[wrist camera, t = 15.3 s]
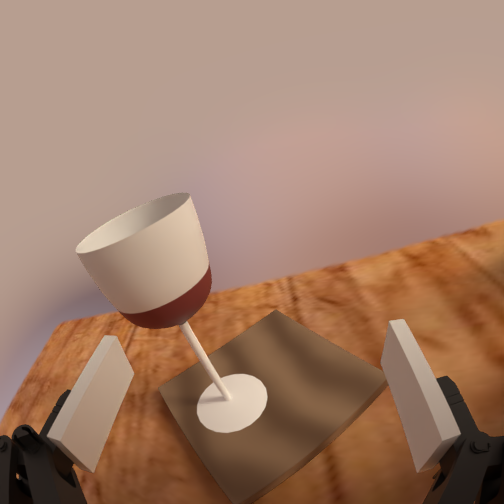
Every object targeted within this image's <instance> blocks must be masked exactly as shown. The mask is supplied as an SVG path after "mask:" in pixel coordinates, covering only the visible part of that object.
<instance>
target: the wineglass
mask: <svg viewBox="0 0 504 504" xmlns="http://www.w3.org/2000/svg"><path fill="white" fill-rule="evenodd" d="M76 252H77V254H78V256H79V258H80V260H81V262H82V263H83V265H84V267H85V268H86V270H87V271H88V273H89V274H90V276H91V277H92V279H93V280H94V282H95V283H96V285H97V286H98V288H99V289H100V290H101V292H102V293H103V294H104V295H105V297H106V298H107V299H108V300H109V301H110V302H111V303H112V305H113V306H114V307H115V308H116V309H117V310H118V311H119V312H120V313H121V314H122V315H123V316H124V317H125V318H126V319H128V320H129V321H130V322H132V323H133V324H135V325H137V326H140V327H143V328H150V329H161V328H169V327H173V326H176V325H179V327H180V329H181V330H182V332H183V334H184V336H185V337H186V339H187V341H188V342H189V344H190V346H191V347H192V349H193V350H194V352H195V354H196V355H197V357H198V359H199V360H200V362H201V363H202V365H203V367H204V368H205V370H206V371H207V373H208V374H209V376H210V378H211V379H212V381H213V383H212V384H211V385H210V386H209V387H207V388H206V389H205V391H204V392H203V393H202V395H201V396H200V399H199V401H198V404H197V415H198V417H199V420H200V422H201V423H202V424H203V425H204V426H205V427H206V428H208V429H210V430H213V431H215V432H222V433H230V432H234V431H239V430H241V429H243V428H245V427H247V426H249V425H251V424H252V423H253V422H254V421H255V420H256V419H258V418H259V417H260V415H261V414H262V412H263V410H264V409H265V407H266V402H267V397H268V396H267V391H266V387H265V386H264V385H263V383H262V382H261V381H260V380H259V379H257V378H255V377H254V376H251V375H247V374H233V375H229V376H225V377H223V378H220V377H219V375H218V373H217V372H216V370H215V369H214V367H213V365H212V364H211V362H210V360H209V359H208V357H207V355H206V353H205V352H204V350H203V348H202V347H201V345H200V343H199V341H198V340H197V338H196V336H195V334H194V333H193V331H192V329H191V327H190V326H189V324H188V322H187V320H188V319H189V318H191V317H192V316H193V315H194V314H195V313H196V312H197V311H198V310H199V309H200V308H201V307H202V306H203V304H204V303H205V301H206V299H207V297H208V295H209V293H210V289H211V284H212V279H211V270H210V265H209V260H208V255H207V251H206V245H205V241H204V237H203V234H202V230H201V227H200V223H199V220H198V217H197V214H196V210H195V208H194V205H193V202H192V199H191V197H190V194H188V193H177V194H172V195H168V196H165V197H161V198H159V199H156V200H153V201H150V202H148V203H145V204H143V205H141V206H138V207H136V208H134V209H131V210H129V211H127V212H125V213H123V214H122V215H120V216H118V217H116V218H114V219H112V220H111V221H109V222H107V223H106V224H104V225H102V226H101V227H99V228H98V229H96V230H95V231H94V232H92V233H91V234H89V235H88V236H87V237H86V238H85V239H84V240H83V241H81V242H80V244H79V245H78V246H77V248H76Z"/></svg>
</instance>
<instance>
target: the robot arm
mask: <svg viewBox="0 0 504 504" xmlns="http://www.w3.org/2000/svg"><path fill="white" fill-rule="evenodd" d="M380 363H381V366H382V368H383V371H384V374H385V376H386V379H387V382H388V384H389V387H390V390H391V393H392V396H393V399H394V401H395V404H396V407H397V410H398V413H399V416H400V419H401V422H402V425H403V428H404V432H405V435H406V438H407V441H408V444H409V448H410V451H411V454H412V458H413V461H414V465H415V468H416V472H417V473H420V472H423V471H426V470H429V469H432V468H434V467H435V466H436V465H437V464H438V462H439V463H440V466H441V469H440V470H439V471H438V472H437V473H436V474H435V475H434V477H433V479H435V478H436V479H435V481H434V483H433V485H432V487H431V489H430V491H429V493H428V495H427V496H426V498H425V500H424V502H423V504H504V436H499V437H489V435H488V434H486V433H484V432H480V431H479V430H478V428H477V426H476V424H475V422H474V420H473V418H472V416H471V414H470V412H469V409H468V407H467V405H466V403H465V402H464V399H463V397H462V395H461V394H460V392H459V390H458V388H457V386H456V384H455V383H454V382H453V381H452V380H451V379H450V378H449V377H448V376H444V377H440V378H437V379H436V378H435V376H434V374H433V372H432V370H431V368H430V366H429V364H428V362H427V361H426V359H425V357H424V355H423V353H422V351H421V349H420V347H419V345H418V344H417V342H416V340H415V338H414V336H413V335H412V333H411V331H410V329H409V327H408V326H407V324H406V322H405V320H404V319H399V320H392V321H389V324H388V329H387V334H386V339H385V344H384V349H383V353H382V358H381V362H380ZM133 376H134V372H133V370H132V368H131V366H130V364H129V362H128V360H127V357H126V355H125V353H124V351H123V349H122V347H121V345H120V342H119V340H118V338H117V336H104V337H103V339H102V340H101V342H100V344H99V345H98V347H97V348H96V350H95V352H94V353H93V355H92V357H91V358H90V360H89V362H88V363H87V365H86V367H85V368H84V370H83V372H82V373H81V375H80V377H79V378H78V380H77V382H76V384H75V385H74V387H73V389H72V390H67V391H65V392H64V393H63V394H62V395H61V396H60V398H59V399H58V401H57V403H56V406H54V408H53V410H52V412H51V414H50V415H49V417H48V419H47V421H46V423H45V424H44V426H43V428H42V430H41V432H40V434H39V435H38V434H37V433H36V432H35V430H34V429H33V428H32V427H31V426H29V425H26V424H25V425H21V426H19V427H17V428H16V429H15V430H14V432H13V434H12V440H11V439H10V438H9V437H8V436H6V435H2V436H0V504H87V502H86V499H85V497H84V494H83V492H82V489H81V487H80V484H79V481H78V478H77V476H76V473H75V471H74V469H73V468H72V466H73V464H75V465H77V466H78V467H79V468H80V469H82V470H85V471H88V472H91V473H94V471H95V468H96V466H97V463H98V461H99V458H100V455H101V453H102V450H103V448H104V445H105V442H106V440H107V437H108V435H109V432H110V430H111V428H112V425H113V423H114V420H115V418H116V415H117V413H118V411H119V408H120V406H121V403H122V401H123V399H124V396H125V394H126V392H127V389H128V387H129V385H130V383H131V380H132V378H133ZM16 473H17V474H18V475H19V479H17V478H16ZM474 501H475V503H474Z"/></svg>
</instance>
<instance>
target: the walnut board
mask: <svg viewBox="0 0 504 504" xmlns="http://www.w3.org/2000/svg"><path fill="white" fill-rule="evenodd" d="M207 357H208V359H209V360H210V362H211V364H212V365H213V367H214V369H215V370H216V372H217V373H218V375H219V377H220V378H223V377H225V376H229V375H233V374H247V375H251V376H254V377H255V378H257V379H259V380H260V381H261V382H262V383H263V385H264V386H265V387H266V391H267V396H268V397H267V402H266V407H265V409H264V410H263V412H262V414H261V415H260V417H259V418H258V419H256V420H255V421H254V422H253V423H252V424H251V425H249V426H247V427H245V428H243V429H241V430H239V431H234V432H230V433H222V432H215V431H213V430H210V429H208V428H206V427H205V426H204V425H203V424H202V423H201V422H200V420H199V417H198V415H197V404H198V401H199V399H200V396H201V395H202V393H203V392H204V391H205V389H206V388H207V387H209V386H210V385H211V384H212V383H213V381H212V379H211V378H210V376H209V374H208V373H207V371H206V370H205V368H204V367H203V365H202V363H201V362H198V363H196V364H195V365H193V366H192V367H190V368H189V369H187V370H186V371H184V372H182V373H181V374H179V375H178V376H176V377H174V378H173V379H171V380H170V381H168V382H166V383H165V384H163V385H162V386H160V387H158V389H159V391H160V393H161V395H162V397H163V399H164V400H165V402H166V404H167V406H168V407H169V409H170V411H171V413H172V414H173V416H174V418H175V420H176V421H177V423H178V425H179V426H180V428H181V430H182V431H183V433H184V435H185V436H186V438H187V439H188V441H189V442H190V444H191V446H192V447H193V449H194V450H195V452H196V453H197V455H198V456H199V458H200V459H201V461H202V462H203V464H204V465H205V467H206V468H207V470H208V471H209V472H210V474H211V475H212V477H213V478H214V479H215V481H216V482H217V484H218V485H219V486H220V488H221V489H222V490H223V492H224V493H225V494H226V496H227V497H228V498H229V500H230V501H231V502H232V503H233V504H251V503H253V502H254V501H256V500H257V499H259V498H260V497H262V496H263V495H265V494H266V493H268V492H269V491H271V490H272V489H273V488H275V487H276V486H278V485H279V484H280V483H282V482H283V481H284V480H286V479H287V478H288V477H290V476H291V475H292V474H294V473H295V472H296V471H298V470H299V469H300V468H301V467H303V466H304V465H305V464H306V463H308V462H309V461H310V460H311V459H313V458H314V457H315V456H316V455H317V454H319V453H320V452H321V451H322V450H323V449H324V448H326V447H327V446H328V445H329V444H330V443H331V442H332V441H333V440H335V439H336V438H337V437H338V436H339V435H340V434H341V433H342V432H343V431H344V430H345V429H346V428H347V427H349V426H350V425H351V424H352V423H353V422H354V421H355V420H356V419H357V418H358V417H359V416H360V415H361V414H362V413H363V412H364V411H365V410H366V409H367V408H368V407H369V406H370V404H371V403H372V402H373V401H374V400H375V399H376V398H377V397H378V396H379V395H380V394H381V393H382V392H383V390H384V389H385V388H386V387H387V386H388V385H389V384H388V382H387V379H386V376H385V374H384V371H382V370H380V369H378V368H376V367H374V366H373V365H371V364H369V363H367V362H365V361H364V360H362V359H360V358H358V357H357V356H355V355H353V354H351V353H349V352H348V351H346V350H344V349H342V348H341V347H339V346H337V345H335V344H334V343H332V342H330V341H328V340H327V339H325V338H323V337H322V336H320V335H318V334H316V333H315V332H313V331H311V330H310V329H308V328H306V327H304V326H303V325H301V324H299V323H298V322H296V321H294V320H293V319H291V318H289V317H288V316H286V315H284V314H282V313H281V312H279V311H277V310H274V311H273V312H271V313H270V314H269V315H267V316H266V317H264V318H263V319H262V320H260V321H259V322H257V323H256V324H254V325H253V326H252V327H250V328H249V329H247V330H246V331H244V332H243V333H241V334H240V335H239V336H237V337H236V338H234V339H233V340H231V341H230V342H228V343H227V344H225V345H224V346H222V347H221V348H219V349H218V350H216V351H215V352H213V353H212V354H210V355H209V356H207Z"/></svg>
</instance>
